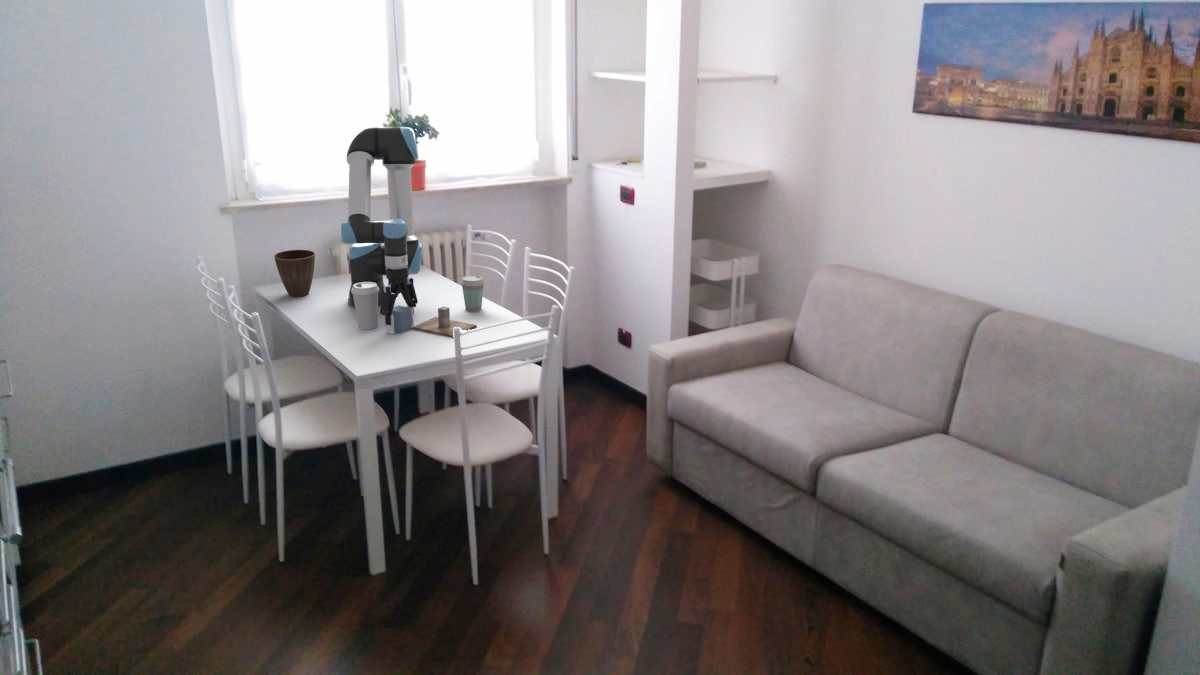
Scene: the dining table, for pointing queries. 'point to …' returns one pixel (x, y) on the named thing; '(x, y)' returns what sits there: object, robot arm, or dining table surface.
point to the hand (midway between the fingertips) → (400, 328)
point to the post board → (442, 330)
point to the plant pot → (296, 271)
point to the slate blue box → (402, 318)
